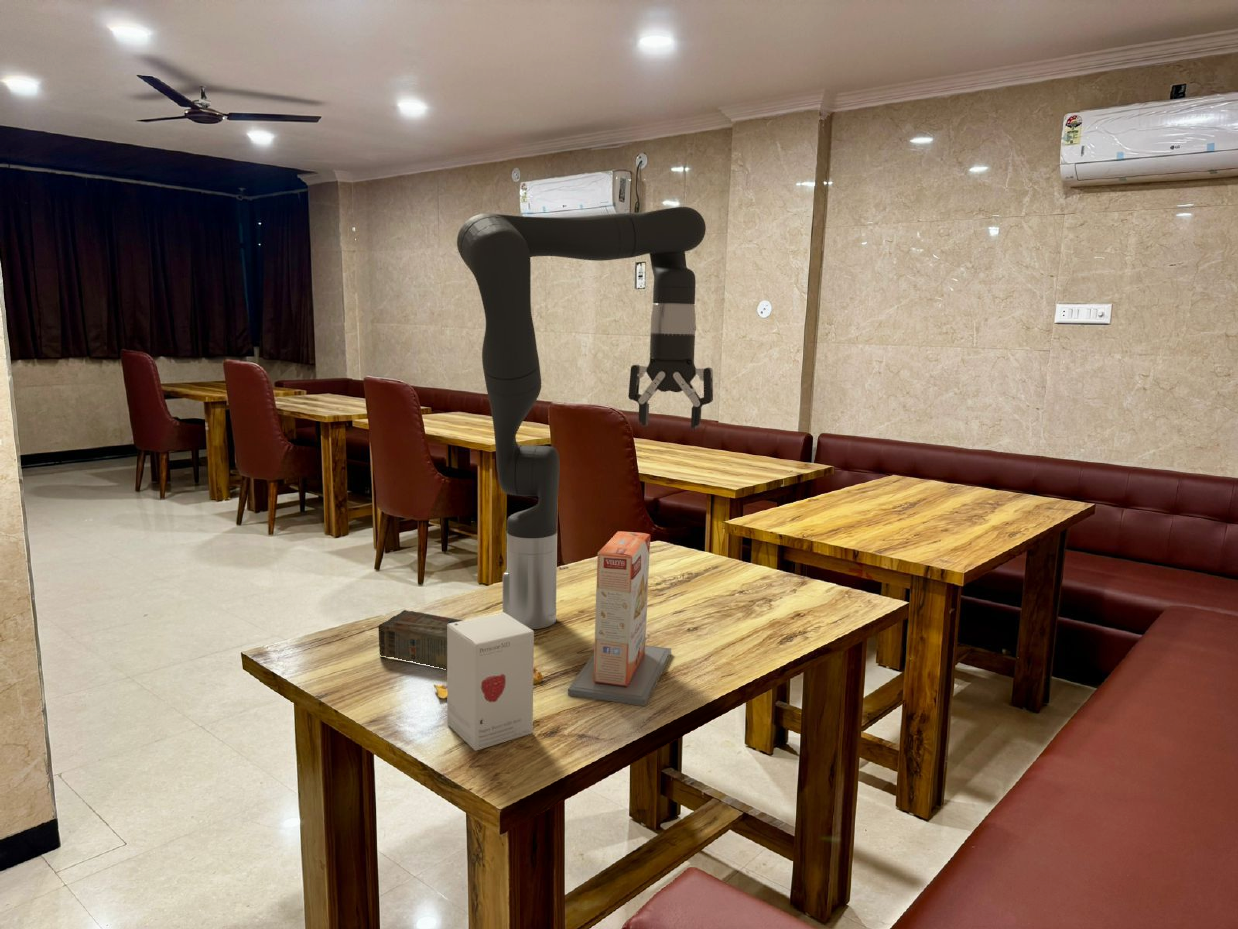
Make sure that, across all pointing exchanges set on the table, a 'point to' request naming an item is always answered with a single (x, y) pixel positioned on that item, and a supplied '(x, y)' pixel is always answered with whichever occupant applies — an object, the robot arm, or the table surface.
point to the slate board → (637, 687)
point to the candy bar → (443, 689)
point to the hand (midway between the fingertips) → (669, 427)
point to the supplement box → (490, 679)
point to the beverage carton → (416, 638)
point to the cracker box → (621, 607)
